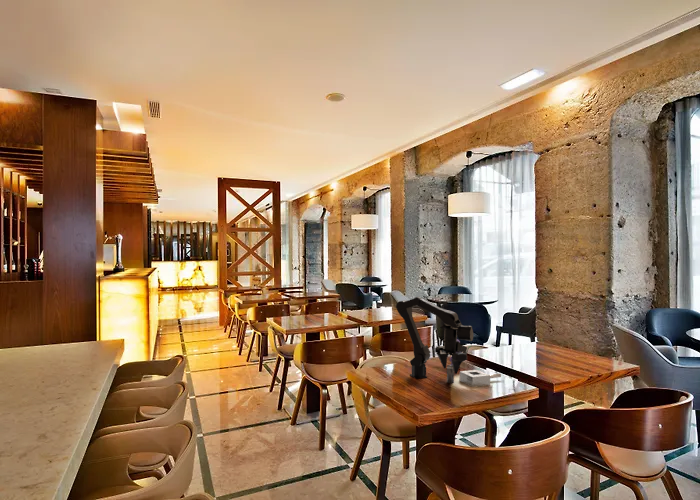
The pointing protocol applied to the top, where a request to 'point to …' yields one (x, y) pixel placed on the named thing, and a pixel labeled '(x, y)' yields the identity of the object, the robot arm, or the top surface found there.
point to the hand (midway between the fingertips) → (450, 370)
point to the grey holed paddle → (476, 378)
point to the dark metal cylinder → (450, 374)
